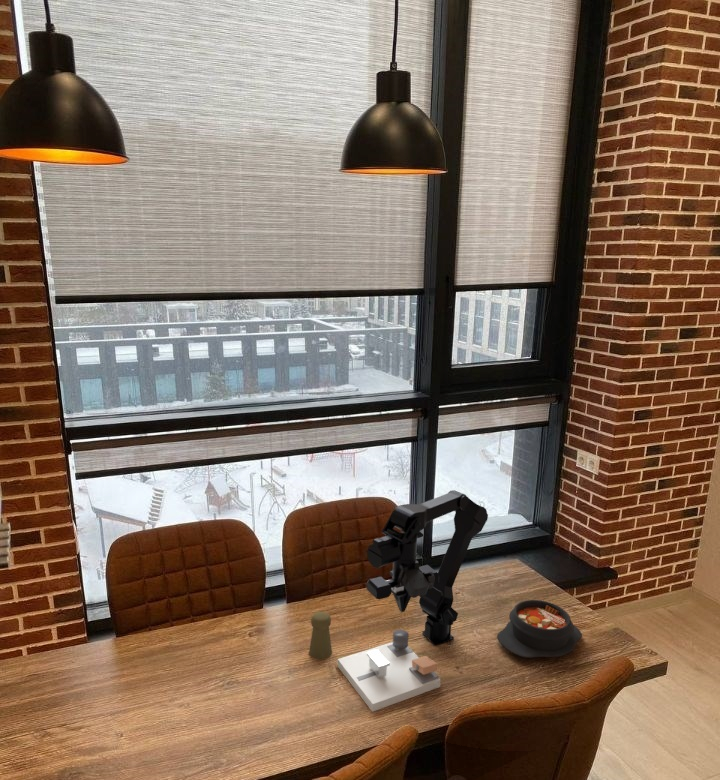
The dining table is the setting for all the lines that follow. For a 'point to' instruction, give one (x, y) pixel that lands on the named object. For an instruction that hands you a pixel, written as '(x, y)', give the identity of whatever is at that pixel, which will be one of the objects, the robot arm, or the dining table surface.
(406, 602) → the robot arm
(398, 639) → the button
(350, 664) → the panel
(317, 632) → the olive pawn
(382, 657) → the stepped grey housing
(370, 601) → the dining table surface
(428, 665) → the peach slab
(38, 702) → the dining table surface
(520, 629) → the casserole
